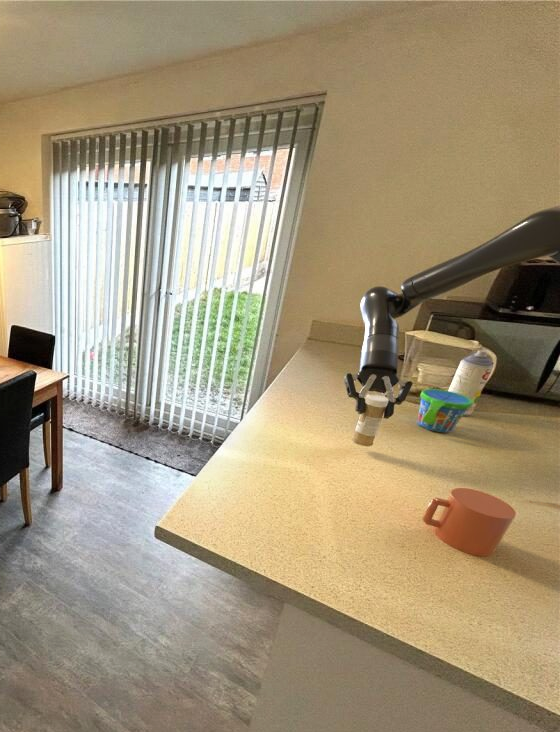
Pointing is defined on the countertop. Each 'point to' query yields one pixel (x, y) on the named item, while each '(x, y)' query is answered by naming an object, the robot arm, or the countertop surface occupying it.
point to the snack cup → (441, 409)
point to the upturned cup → (471, 520)
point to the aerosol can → (472, 377)
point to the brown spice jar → (370, 419)
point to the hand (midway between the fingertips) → (373, 415)
